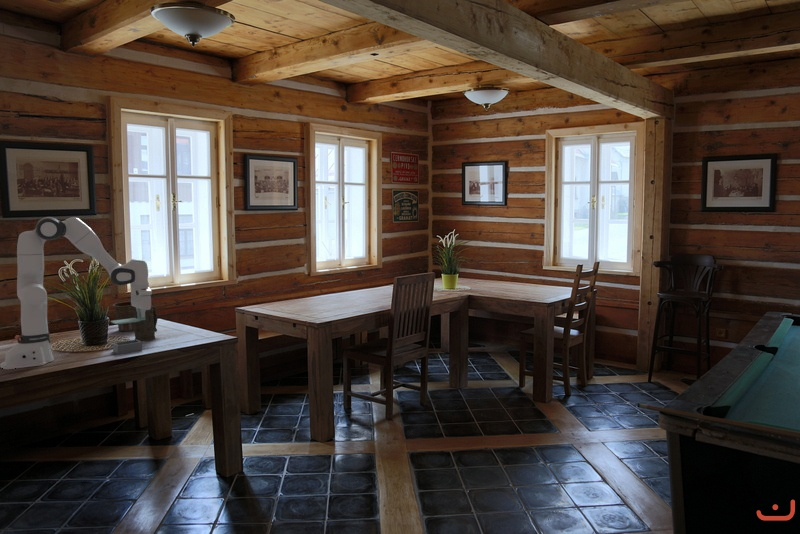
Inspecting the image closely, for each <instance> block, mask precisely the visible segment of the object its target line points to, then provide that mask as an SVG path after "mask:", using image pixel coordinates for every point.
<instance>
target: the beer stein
mask: <svg viewBox="0 0 800 534" xmlns="http://www.w3.org/2000/svg"><path fill="white" fill-rule="evenodd" d="M133 310H134V318H136V319H137V310H136V307H134V309H133ZM145 319H146V320H140V321H138V322H134V331H133V332H134V340H136V339H137V340H139V341H141V342H142V343H143V342H151V341H154V340H156V336H155V335H156V333H157V332H158V329H157V324H158V320H159V319H158V311H157V307H156V306H154V305H152V304H151V309H150V310H146V311H145Z"/></svg>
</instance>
